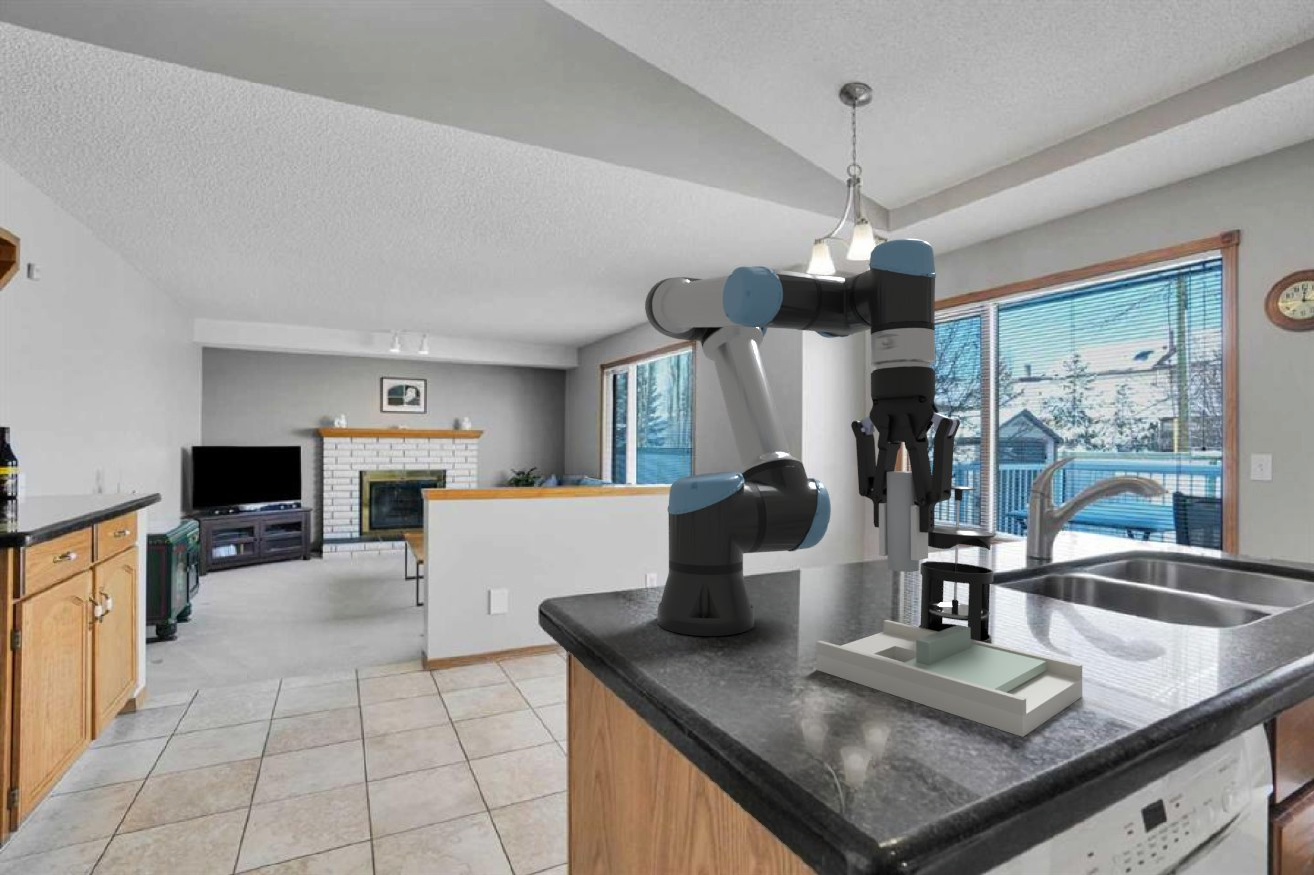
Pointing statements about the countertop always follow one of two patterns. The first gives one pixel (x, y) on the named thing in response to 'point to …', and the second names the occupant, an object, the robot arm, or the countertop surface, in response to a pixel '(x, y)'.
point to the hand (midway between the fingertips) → (903, 556)
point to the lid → (973, 660)
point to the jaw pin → (900, 521)
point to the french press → (956, 580)
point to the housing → (951, 680)
